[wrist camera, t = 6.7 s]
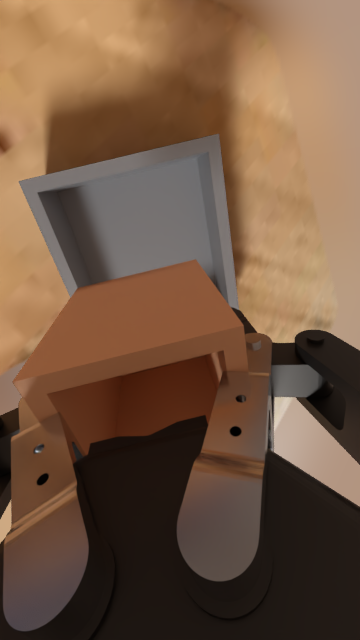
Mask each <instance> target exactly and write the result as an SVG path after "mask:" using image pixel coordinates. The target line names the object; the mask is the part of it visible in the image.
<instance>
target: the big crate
mask: <svg viewBox="0 0 360 640" xmlns="http://www.w3.org/2000/svg"><path fill="white" fill-rule="evenodd" d="M19 184H20V186H21V188H22V190H23V193H24V195H25V197H26V199H27V202H28V204H29V206H30V208H31V211H32V213H33V215H34V217H35V219H36V222H37V224H38V226H39V228H40V231H41V233H42V235H43V237H44V240H45V242H46V244H47V246H48V248H49V251H50V253H51V255H52V257H53V260H54V262H55V264H56V266H57V269H58V271H59V273H60V275H61V277H62V280H63V282H64V284H65V286H66V289H67V291H68V293H69V295H70V298H71V297H72V295H73V294H74V292H75V291H76V289H77V288H80V287H84V286H88V285H92V284H96V283H100V282H104V281H108V280H113V279H117V278H121V277H125V276H129V275H133V274H137V273H141V272H146V271H150V270H154V269H158V268H162V267H166V266H170V265H174V264H178V263H183V262H187V261H191V260H195V259H196V260H197V262H198V263H199V264H200V266H201V267H202V268H203V270H204V271H205V273H206V274H207V275H208V277H209V278H210V280H211V281H212V282H213V284H214V285H215V286H216V288H217V289H218V291H219V292H220V293H221V295H222V296H223V297H224V299H225V300H226V302H227V303H228V304H229V306H230V307H231V308H232V307H233V308H235V309H238V310H239V306H238V297H237V288H236V279H235V271H234V262H233V253H232V244H231V235H230V227H229V218H228V209H227V200H226V191H225V182H224V174H223V165H222V156H221V147H220V138H219V134H215V135H211V136H207V137H202V138H198V139H194V140H190V141H186V142H181V143H177V144H173V145H169V146H165V147H160V148H156V149H152V150H148V151H144V152H139V153H135V154H131V155H127V156H123V157H118V158H114V159H110V160H106V161H102V162H97V163H93V164H89V165H85V166H81V167H76V168H72V169H68V170H64V171H60V172H55V173H51V174H47V175H43V176H39V177H34V178H30V179H26V180H22V181H19Z"/></svg>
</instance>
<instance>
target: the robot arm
mask: <svg viewBox="0 0 360 640" xmlns="http://www.w3.org/2000/svg"><path fill="white" fill-rule="evenodd" d="M232 310H233V311H234V313H235V314H236V315H237V317H238V318H239V320H240V321H241V322H242V324H243V325H244V333H245V342H246V352H247V361H248V370H249V372H242V371H223V373H222V376H221V380H220V383H219V387H218V391H217V395H216V398H215V402H214V406H213V409H212V413H211V417H210V421H209V424H208V423H207V419H206V415H203V416H199V417H195V418H190V419H186V420H182V421H178V422H176V423H174V424H172V425H170V426H167V427H165V428H163V429H161V430H159V431H157V432H155V433H153V434H151V435H148V436H118V437H114V438H110V439H106V440H102V441H98V442H94V443H90V447H89V452H88V454H87V455H86V454H85V452H84V451H83V449H82V447H81V446H80V444H79V442H78V441H77V439H76V437H75V436H74V434H73V432H72V431H71V429H70V427H69V426H68V424H67V423H66V421H65V419H64V418H63V416H62V414H61V413H60V411H59V412H57V413H55V414H53V415H52V416H50V417H48V418H46V419H44V420H42V421H41V422H39V421H38V419H37V418H36V416H35V415H34V414H33V412H32V411H31V409H30V408H29V406H28V405H27V403H26V402H25V400H24V399H23V397H22V398H21V400H20V401H19V405H18V406H19V407H18V408H16V409H15V410H12V411H10V412H7V413H5V414H3V415H1V416H0V519H1V517H2V515H3V513H4V511H5V509H6V507H7V506H8V504H9V502H10V500H11V507H12V508H11V511H12V525H11V530H10V531H9V533H8V534H7V535H6V537H5V539H4V540H3V541H2V542H1V544H0V640H360V507H359V506H358V505H356V504H354V503H353V502H351V501H350V500H348V499H346V498H345V497H343V496H342V495H340V494H339V493H337V492H336V491H334V490H332V489H331V488H329V487H328V486H326V485H324V484H323V483H321V482H320V481H318V480H317V479H315V478H314V477H312V476H310V475H309V474H307V473H306V472H304V471H303V470H301V469H300V468H298V467H296V466H295V465H293V464H292V463H290V462H289V461H287V460H285V459H284V458H282V457H281V456H279V455H277V454H276V453H274V400H275V397H296V398H297V400H298V401H299V402H300V403H301V404H302V405H303V406H304V407H305V408H306V409H307V410H308V411H309V412H310V413H311V414H312V415H313V417H315V419H316V420H317V421H318V422H319V423H320V424H321V425H322V426H323V427H324V428H325V429H326V430H327V431H328V432H329V433H330V434H331V435H332V436H333V437H334V438H335V439H336V440H337V442H339V444H340V445H341V446H342V447H343V448H344V449H345V450H346V451H347V452H348V453H349V454H350V455H351V456H352V457H353V458H354V459H355V460H356V461H357V462H358V463H359V464H360V351H359V350H358V349H356V348H354V347H352V346H351V345H349V344H348V343H346V342H344V341H342V340H341V339H339V338H337V337H336V336H334V335H332V334H331V333H328V332H326V331H321V330H306V331H303V332H300V333H299V334H297V335H296V337H295V343H273V342H272V340H271V339H270V337H268V336H267V335H264V334H261V333H257V332H256V330H255V329H254V328H253V327H252V325H251V324H250V323H249V321H247V319H246V318H245V317H244V315H243V314H242V312H241V311H240V310H238V309H235V308H233V307H232Z"/></svg>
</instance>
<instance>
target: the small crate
mask: <svg viewBox="0 0 360 640" xmlns="http://www.w3.org/2000/svg"><path fill="white" fill-rule="evenodd" d="M223 371H242V372H249V370H248V361H247V352H246V342H245V333H244V325H243V324H242V322H241V321H240V320H239V318H238V317H237V315H236V314H235V313H234V311H233V310H232V308H231V307H230V306H229V304H228V303H227V302H226V300H225V299H224V297H223V296H222V295H221V293H220V292H219V291H218V289H217V288H216V286H215V285H214V284H213V282H212V281H211V280H210V278H209V277H208V275H207V274H206V273H205V271H204V270H203V268H202V267H201V266H200V264H199V263H198V262H197V260H196V259H195V260H191V261H187V262H183V263H178V264H174V265H170V266H166V267H162V268H158V269H154V270H150V271H146V272H141V273H137V274H133V275H129V276H125V277H121V278H117V279H113V280H108V281H104V282H100V283H96V284H92V285H88V286H84V287H80V288H77V289H76V291H75V292H74V294H73V295H72V297H71V298H70V300H69V301H68V302H67V304H66V305H65V307H64V308H63V310H62V311H61V313H60V314H59V315H58V317H57V318H56V320H55V321H54V323H53V324H52V326H51V327H50V328H49V330H48V331H47V333H46V334H45V336H44V337H43V339H42V340H41V341H40V343H39V344H38V346H37V347H36V349H35V350H34V352H33V353H32V354H31V356H30V357H29V359H28V360H27V362H26V363H25V365H24V366H23V367H22V369H21V370H20V372H19V373H18V375H17V376H16V378H15V379H14V380H13V384H14V386H15V387H16V388H17V390H18V391H19V393H20V394H21V396H22V397H23V399H24V400H25V402H26V403H27V405H28V406H29V408H30V409H31V411H32V412H33V414H34V415H35V416H36V418H37V419H38V421H39V422H41V421H42V420H44V419H46V418H48V417H50V416H52V415H53V414H55V413H57V412H59V411H60V413H61V414H62V416H63V418H64V419H65V421H66V423H67V424H68V426H69V427H70V429H71V431H72V432H73V434H74V436H75V437H76V439H77V441H78V442H79V444H80V446H81V447H82V449H83V451H84V452H85V454H86V455H87V454H88V452H89V447H90V443H94V442H98V441H102V440H106V439H110V438H114V437H118V436H148V435H151V434H153V433H155V432H157V431H159V430H161V429H163V428H165V427H167V426H170V425H172V424H174V423H176V422H178V421H182V420H186V419H190V418H195V417H199V416H203V415H206V419H207V423H208V424H209V421H210V417H211V413H212V409H213V406H214V402H215V398H216V395H217V391H218V387H219V383H220V380H221V376H222V373H223Z"/></svg>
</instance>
